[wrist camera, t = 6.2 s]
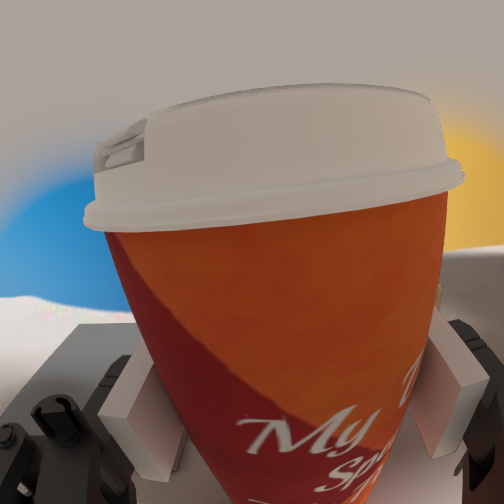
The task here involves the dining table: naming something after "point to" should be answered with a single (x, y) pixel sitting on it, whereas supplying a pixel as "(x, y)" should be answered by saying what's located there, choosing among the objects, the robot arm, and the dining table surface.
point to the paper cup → (282, 274)
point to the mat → (77, 372)
